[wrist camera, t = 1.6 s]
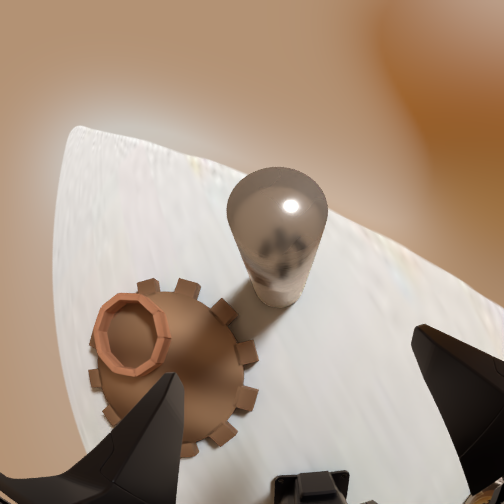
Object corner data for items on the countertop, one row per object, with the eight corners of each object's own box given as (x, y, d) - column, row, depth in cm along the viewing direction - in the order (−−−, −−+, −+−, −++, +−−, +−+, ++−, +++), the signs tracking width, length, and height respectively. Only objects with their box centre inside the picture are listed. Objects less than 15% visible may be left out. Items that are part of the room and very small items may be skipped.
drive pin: (305, 306, 23) (333, 252, 11) (253, 308, 23) (224, 256, 11) (302, 258, 24) (321, 166, 12) (253, 259, 25) (228, 169, 13)
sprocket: (258, 460, 18) (255, 472, 16) (97, 431, 20) (82, 435, 17) (258, 280, 24) (256, 271, 21) (102, 280, 25) (87, 273, 23)
